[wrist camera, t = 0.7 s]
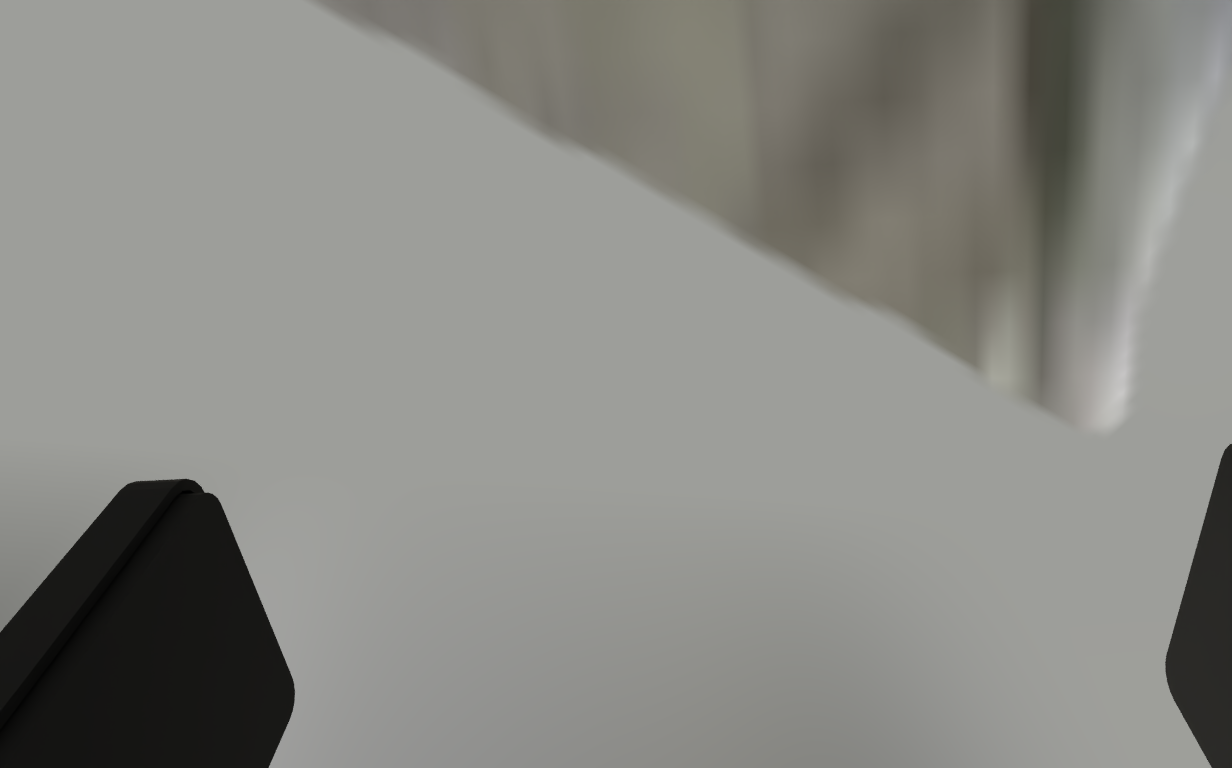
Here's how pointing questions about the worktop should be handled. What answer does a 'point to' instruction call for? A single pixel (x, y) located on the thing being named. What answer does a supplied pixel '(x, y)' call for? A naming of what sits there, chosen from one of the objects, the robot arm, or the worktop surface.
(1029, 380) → the worktop surface
